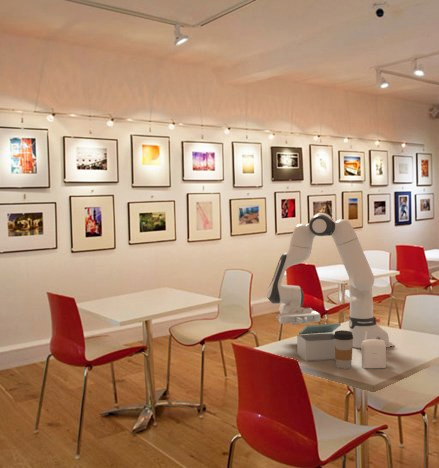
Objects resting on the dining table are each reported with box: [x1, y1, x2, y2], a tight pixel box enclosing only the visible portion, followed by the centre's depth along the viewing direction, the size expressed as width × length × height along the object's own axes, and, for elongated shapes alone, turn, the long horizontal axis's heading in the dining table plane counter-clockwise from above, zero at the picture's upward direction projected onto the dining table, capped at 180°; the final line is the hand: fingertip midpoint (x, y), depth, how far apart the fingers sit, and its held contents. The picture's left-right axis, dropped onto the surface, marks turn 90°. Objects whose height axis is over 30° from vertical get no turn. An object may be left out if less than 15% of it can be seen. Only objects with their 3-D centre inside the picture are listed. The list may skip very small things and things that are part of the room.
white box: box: [296, 332, 336, 362], centre depth 247 cm, size 18×12×9 cm
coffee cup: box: [334, 330, 354, 370], centre depth 231 cm, size 8×8×15 cm
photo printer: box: [360, 339, 387, 369], centre depth 229 cm, size 10×4×12 cm, turn 86°
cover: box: [298, 323, 342, 335], centre depth 247 cm, size 16×12×1 cm
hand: (304, 321), depth 252 cm, fingers closed
